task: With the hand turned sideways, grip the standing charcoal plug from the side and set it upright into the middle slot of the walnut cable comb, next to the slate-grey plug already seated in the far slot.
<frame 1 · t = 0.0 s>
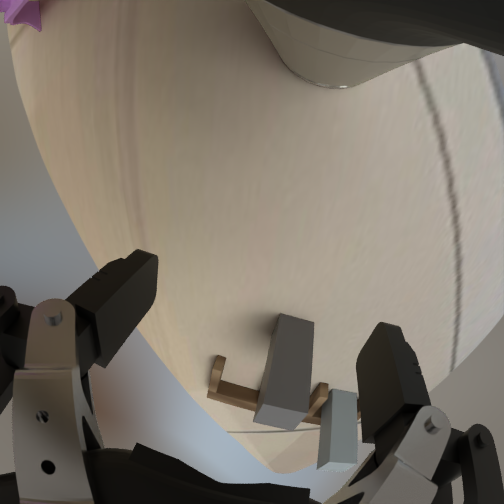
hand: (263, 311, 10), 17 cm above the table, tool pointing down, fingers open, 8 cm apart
charcoal plug: (292, 329, 33), on the table
slate plug: (339, 397, 38), on the table
cable comb: (289, 394, 39), on the table
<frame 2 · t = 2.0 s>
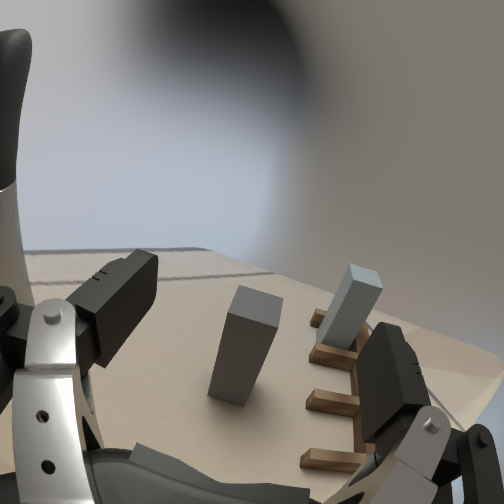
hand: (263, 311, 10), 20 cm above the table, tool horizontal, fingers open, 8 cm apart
charcoal plug: (230, 386, 28), on the table
slate plug: (329, 344, 38), on the table
cable comb: (343, 387, 31), on the table
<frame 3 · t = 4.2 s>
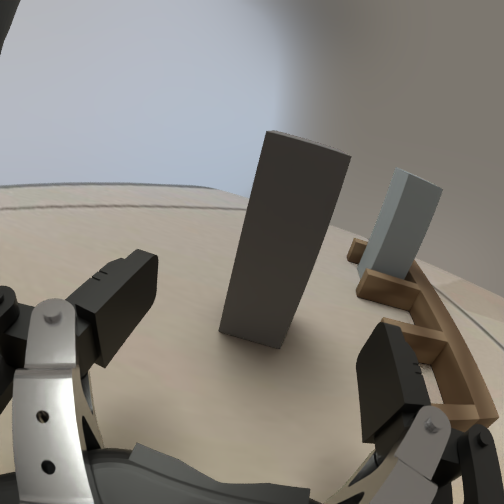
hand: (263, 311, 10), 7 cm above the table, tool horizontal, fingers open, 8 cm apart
charcoal plug: (254, 321, 19), on the table
slate plug: (375, 281, 29), on the table
cable comb: (407, 328, 22), on the table
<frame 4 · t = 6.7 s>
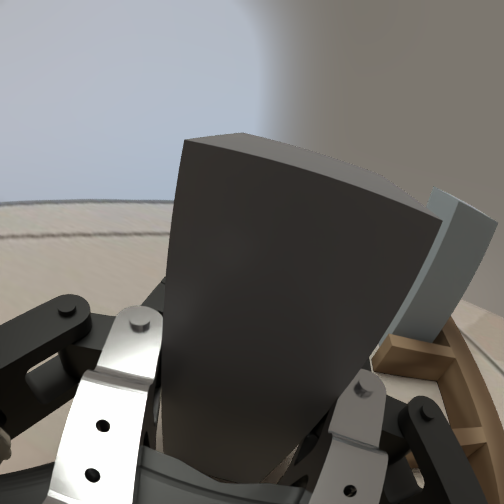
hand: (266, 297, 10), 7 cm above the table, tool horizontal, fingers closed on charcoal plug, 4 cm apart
charcoal plug: (220, 439, 11), on the table, touching gripper
slate plug: (396, 338, 20), on the table
cable comb: (435, 412, 14), on the table
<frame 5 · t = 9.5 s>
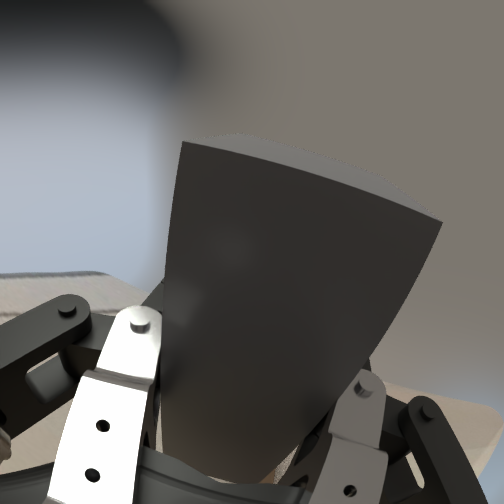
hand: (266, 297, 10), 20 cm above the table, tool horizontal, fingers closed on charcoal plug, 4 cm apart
charcoal plug: (219, 440, 11), point 13 cm above the table, touching gripper
when the fingers open (8 cm above the table, at t = 12.8 s): charcoal plug drops 1 cm, on the table.
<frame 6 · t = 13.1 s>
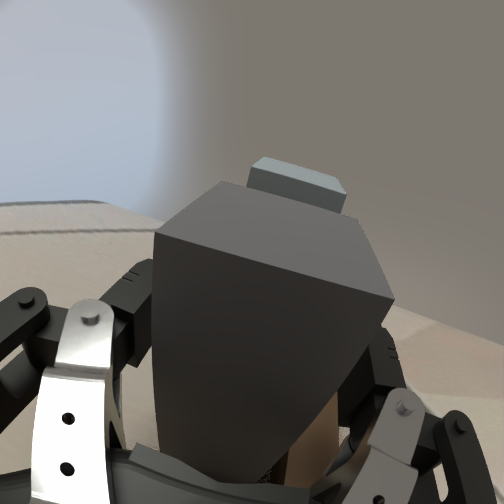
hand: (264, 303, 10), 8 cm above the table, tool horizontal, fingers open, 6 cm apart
charcoal plug: (213, 449, 11), on the table
slate plug: (244, 353, 18), on the table
cable comb: (250, 459, 11), on the table
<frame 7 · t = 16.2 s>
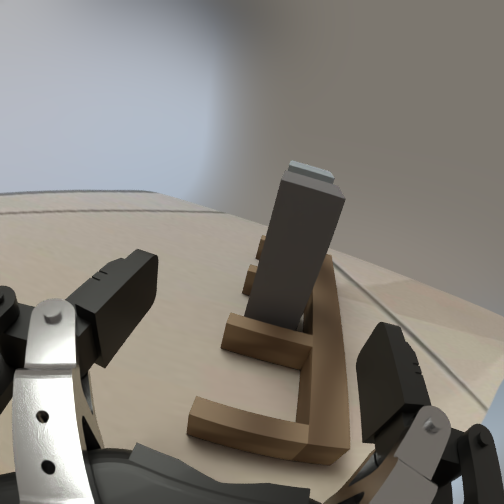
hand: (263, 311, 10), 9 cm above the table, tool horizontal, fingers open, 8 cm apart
charcoal plug: (267, 323, 23), on the table
slate plug: (277, 279, 30), on the table
cable comb: (289, 328, 23), on the table
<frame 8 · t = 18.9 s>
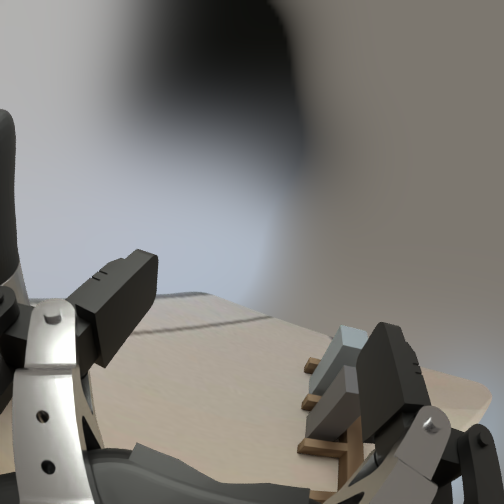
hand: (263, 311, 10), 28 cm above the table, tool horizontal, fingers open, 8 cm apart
charcoal plug: (319, 430, 33), on the table
slate plug: (320, 390, 40), on the table
cable comb: (331, 431, 33), on the table
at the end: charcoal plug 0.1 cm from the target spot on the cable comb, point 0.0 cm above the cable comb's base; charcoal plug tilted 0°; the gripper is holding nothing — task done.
